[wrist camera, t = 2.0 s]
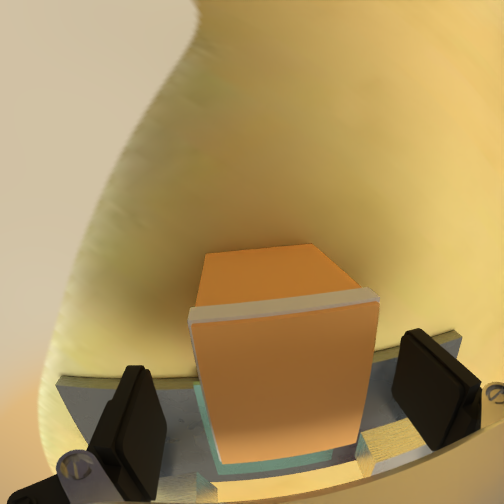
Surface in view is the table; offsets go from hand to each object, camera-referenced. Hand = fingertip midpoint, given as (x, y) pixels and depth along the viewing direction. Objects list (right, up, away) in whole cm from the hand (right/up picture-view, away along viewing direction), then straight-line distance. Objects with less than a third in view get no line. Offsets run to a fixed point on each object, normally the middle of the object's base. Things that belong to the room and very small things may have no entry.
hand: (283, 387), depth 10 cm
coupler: (-1, +2, +5) cm, 6 cm away
